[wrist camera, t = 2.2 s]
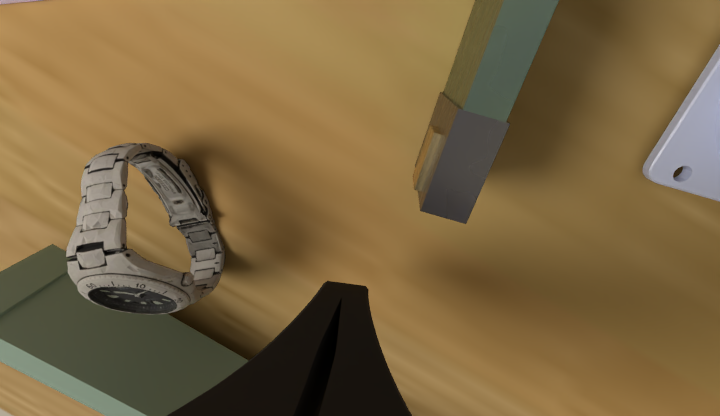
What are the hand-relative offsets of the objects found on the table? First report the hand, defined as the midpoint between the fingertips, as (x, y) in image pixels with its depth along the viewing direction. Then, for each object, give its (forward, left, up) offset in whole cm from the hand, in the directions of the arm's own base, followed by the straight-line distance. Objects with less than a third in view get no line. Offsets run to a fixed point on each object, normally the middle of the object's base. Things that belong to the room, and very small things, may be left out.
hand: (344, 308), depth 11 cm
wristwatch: (+7, 0, -4) cm, 8 cm away
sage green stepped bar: (+7, +6, -3) cm, 10 cm away
